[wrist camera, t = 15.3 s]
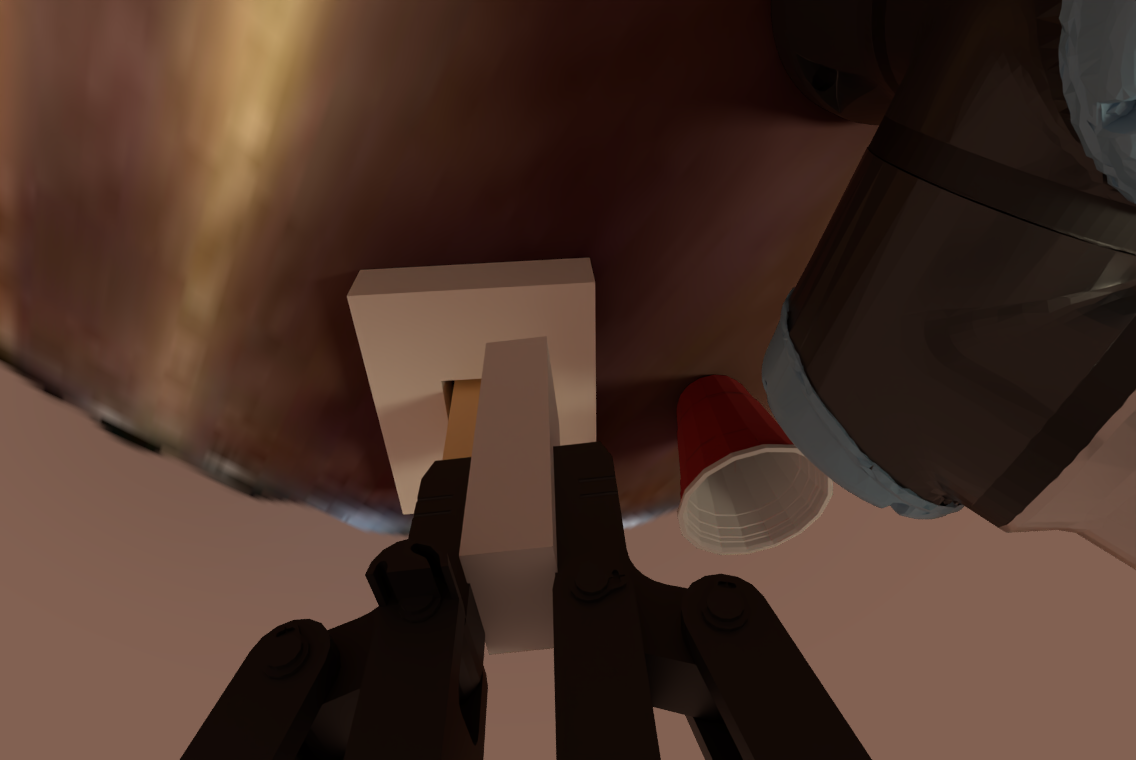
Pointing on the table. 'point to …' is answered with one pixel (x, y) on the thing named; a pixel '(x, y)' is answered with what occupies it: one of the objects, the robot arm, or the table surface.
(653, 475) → the table surface
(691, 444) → the plastic cup
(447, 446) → the plug block
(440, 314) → the socket plate
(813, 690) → the robot arm
